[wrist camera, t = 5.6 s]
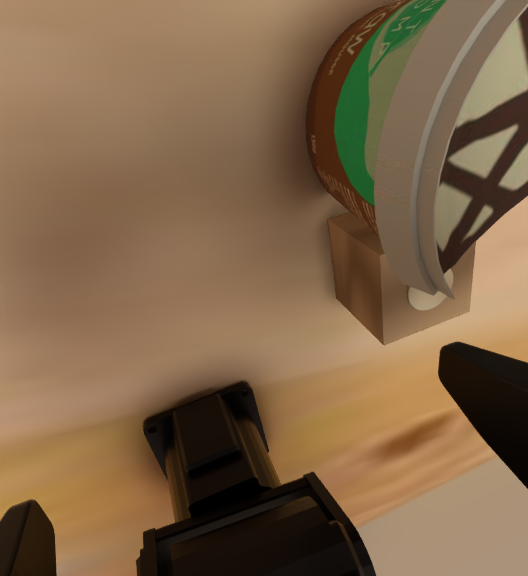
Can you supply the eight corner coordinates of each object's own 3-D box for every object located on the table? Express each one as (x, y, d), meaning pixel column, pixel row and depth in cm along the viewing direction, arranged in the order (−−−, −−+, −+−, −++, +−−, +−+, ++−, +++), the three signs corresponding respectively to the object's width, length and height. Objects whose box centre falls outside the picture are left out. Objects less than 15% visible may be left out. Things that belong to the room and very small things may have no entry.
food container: (432, -113, 17) (763, -283, 8) (488, 22, 20) (765, -5, 12) (223, 125, 18) (329, 181, 10) (308, 214, 22) (441, 311, 13)
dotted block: (409, 270, 26) (472, 313, 21) (335, 297, 25) (385, 347, 20) (409, 192, 23) (480, 222, 19) (326, 218, 22) (382, 257, 18)
